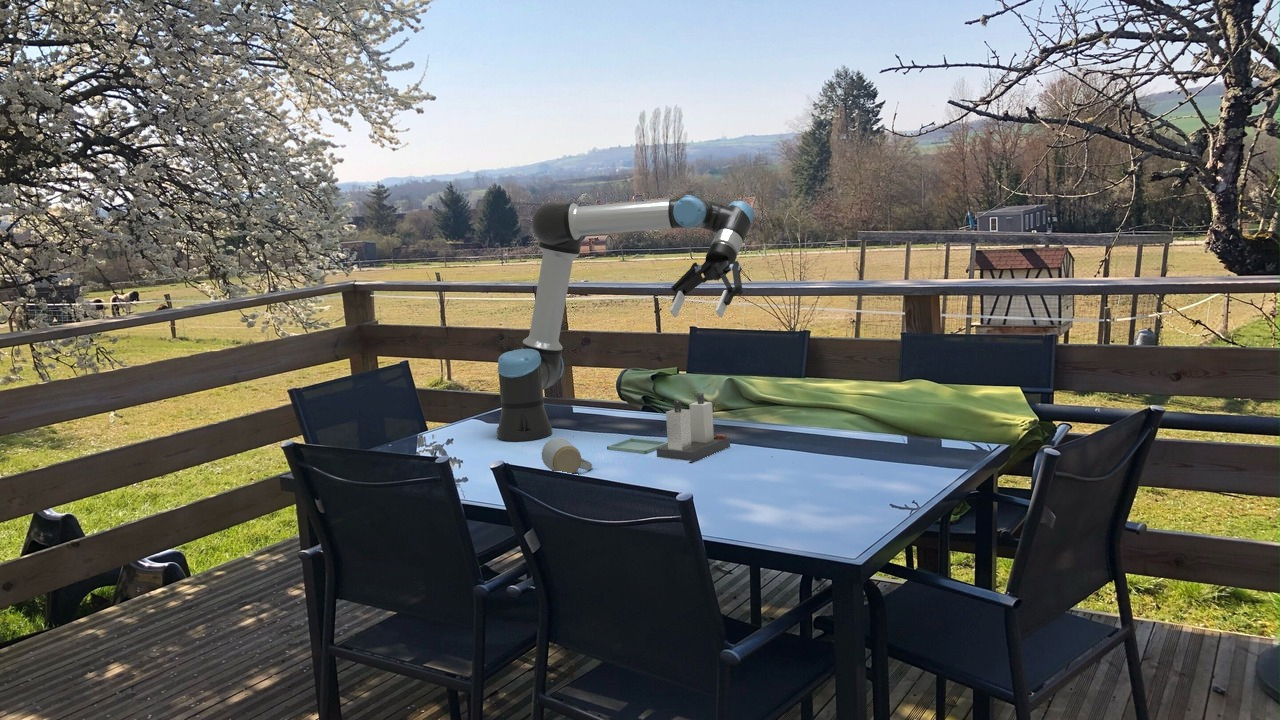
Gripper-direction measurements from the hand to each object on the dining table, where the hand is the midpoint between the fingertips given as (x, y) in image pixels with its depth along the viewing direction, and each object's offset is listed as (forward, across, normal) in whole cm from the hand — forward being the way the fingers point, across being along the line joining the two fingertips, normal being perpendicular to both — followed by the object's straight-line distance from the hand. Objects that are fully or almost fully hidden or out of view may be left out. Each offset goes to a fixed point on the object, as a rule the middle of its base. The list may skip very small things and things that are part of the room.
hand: (695, 313), depth 223 cm
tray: (+33, +10, -13) cm, 37 cm away
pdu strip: (+31, -5, -15) cm, 35 cm away
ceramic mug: (+50, +12, +3) cm, 52 cm away
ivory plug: (+28, -5, -18) cm, 33 cm away
